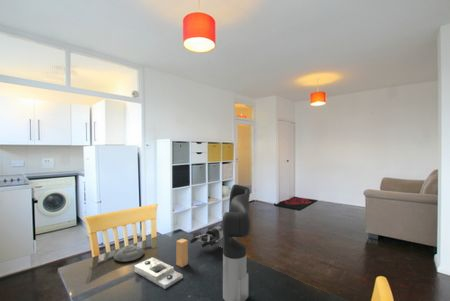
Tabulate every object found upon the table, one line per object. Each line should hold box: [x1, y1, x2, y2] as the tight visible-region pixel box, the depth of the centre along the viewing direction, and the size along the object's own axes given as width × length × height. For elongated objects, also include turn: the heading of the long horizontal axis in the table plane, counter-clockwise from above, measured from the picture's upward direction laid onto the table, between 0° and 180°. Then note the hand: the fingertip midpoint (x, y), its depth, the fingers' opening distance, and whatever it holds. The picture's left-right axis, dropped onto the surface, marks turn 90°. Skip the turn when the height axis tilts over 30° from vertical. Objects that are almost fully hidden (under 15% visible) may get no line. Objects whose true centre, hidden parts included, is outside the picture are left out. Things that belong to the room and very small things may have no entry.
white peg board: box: [134, 256, 184, 290], centre depth 104 cm, size 22×10×3 cm, turn 54°
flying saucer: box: [113, 245, 145, 262], centre depth 122 cm, size 15×15×6 cm
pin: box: [175, 238, 189, 268], centre depth 113 cm, size 4×4×12 cm
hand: (196, 243), depth 122 cm, fingers open, 8 cm apart
